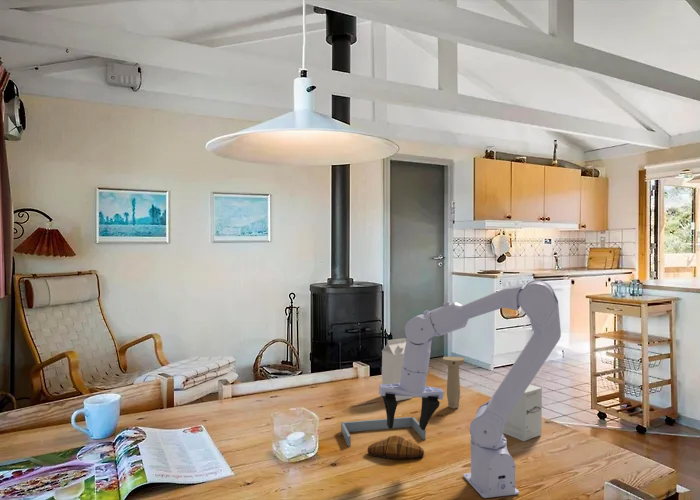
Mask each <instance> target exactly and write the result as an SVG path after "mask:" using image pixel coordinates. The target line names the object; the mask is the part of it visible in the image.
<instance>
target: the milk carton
mask: <svg viewBox="0 0 700 500" xmlns="http://www.w3.org/2000/svg"><path fill="white" fill-rule="evenodd" d="M406 340H407V337H406V338H405V337H403V338H397V339H395V338H394V339H388V340H387V343H386V345H385V346H384V347H383V348H382V350H381V353H382V354H381V380H382V381H381V384H396V383H400V377H401V371H402V364H403V357H404V350H405V346H406ZM395 397H396V401H397V402H398V401H404V400H409V399H412V398H413V397H410V396H395Z"/></svg>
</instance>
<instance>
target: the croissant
mask: <svg viewBox="0 0 700 500" xmlns="http://www.w3.org/2000/svg"><path fill="white" fill-rule="evenodd" d="M366 451H367V455H370V456H373V457H379V458H385V459H393V460H402V459H409V460H410V459H419V458H424V456H425V449H424V448H423V447H421V446H420V445H418V444H416V443H414V442H412V441H410V440H407V439H406V438H404V437H403V436H399V435H391V436H390V435H389V436H388V437H386V438H385V439H380V440H379V441H376V442H373V443H372V444H370V445H368V447H367V450H366Z"/></svg>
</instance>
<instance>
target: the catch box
mask: <svg viewBox="0 0 700 500" xmlns="http://www.w3.org/2000/svg"><path fill="white" fill-rule="evenodd" d="M419 422H420V421H418V420H417V419H416V418H415V417H414V416H405V417H394V423H393V428H392V429H398V428H399V429H400V428H411V427H412V429H413V430H414V431H415V432H416V433H417V435H418V436H419V437H420V438H421V439H422V440H423V441H424V440H426V437H427V436H426V433H427V432H426V430H427V429H425V430H422V429H421V428H420V426H419ZM340 424H341V425H340V432H341V434H342V436H343V438H344V441H345V443H346V445H347V447H351V445H352V444H351V442H352V441H351V439H352V438H351V434H350V433H351V432H353V433H354V432H364V431H376V430H388V429H389V427H388V426H387V418H380V419H370V420H369V419H367V420H357V421H354V420H353V421H341V423H340Z"/></svg>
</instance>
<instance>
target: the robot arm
mask: <svg viewBox="0 0 700 500" xmlns="http://www.w3.org/2000/svg"><path fill="white" fill-rule="evenodd" d="M442 305H443V306H440V307H437V308H434V309H432V310H429V309H426V310H424V311H423V314H417V315H416V316H414V317H412V318H411V319H409V320H408V321H407V322H406V324H405V326H404V333H405V334H404V335H405V337H406V346H405V350H404V357H403V364H402V371H401V377H400V383H396V384H382V383H379V387H378V395H380V397H382V400H383V403H384V406H385V412H386V419H387V426H388V427H389V429H391V430H392V429H394V428H393V423H394V418H395V413H396V410H397V407H398V404H399V402H398V401H396V397H395V396H410V397H412V398H421V409H420V411H421V412H420V416H419V421H418V422H419V426H420V428H421V429H422V430H427V427H428V423H429V421H430V419H431V418H432V416H433V415H434V413H435V412H436V411H437V409H438V408H439V406H440V404H441V403H440V401H439V400H441V401H442V400H444V394H445V391H444V390H443V388H441V387H435V386H428V385H427V377H428V373H429V372H428V371H429V365H430V359H431V352H432V351H431V348H432V343H433V342H432V341H433V338H434V337H441V336H444V335H446V334H449V333H452V332H455V331H458V330H461V329H464V328H466V327H467V324H468V322H469V319H470V320H471V319H473V318H476V317H479V316H481V315H485V314H488V313H491V312H495V311H497V310H501V309H508V310H513V311H519V309H520V308H521V309H522V311H523V312H524V314H525V315H526V316H527V317H528V319H529V321H530V324H531V328H532V330H533V334H532V335H531V337H530V338H529V339H528V341H527V342H526V345H525V346H524V348H523V349H522V350H521V352H520V354H519V355H518V357H517V358H516V359H515V361H514V363H513V364H512V366H511V367H510V369H509V371H508V372H507V373H506V375H505V376H504V378H503V379H502V381H501V382H500V384H499V386H498V387H497V389H496V390H495V392H494V394H492V395H491V397H490V398H489V400H488V401H486V402H485V403H482V404H480V406H478V408H477V409H476V410H477V411H476V414H475V416H474V418H473V419H472V420H471V422H470V425H469V434H470V472H466V473H463V475H462V476H463V477H464V479H465V480H466V481H467V482H468V483H469V484H470V485H471V486H472V487H473V489H474V490H475V491H476V492H477V493H478V494H479V495H480V497H482V498H484V499H489V498H496V497H506V496H514V495H519V494H520V490H519V489H517V488H516V462H515V460H514V458H513V457H512V455H511V454H510V452H509V451H508V446H507V442H508V441H507V438H506V436H505V434H504V433H502V431H503V428H504V426H505V424H506V421H507V420H508V418H509V416H510V414H511V412H512V410H513V408H514V407H515V405H516V404H517V402H518V401H519V399H520V398H521V396H522V395H523V393H524V392H525V390H526V389H527V387H528V386H529V385H531V383H532V382H533V380H534V379H535V378H536V376H537V373H538V372H539V371H540V369H541V368H542V367H543V365H544V364H545V362H546V361H547V359H548V358H549V356H550V355H551V353H552V352H553V350H554V349H555V347H556V345H557V344H558V343H559V341H560V339H561V336H562V333H561V332H562V331H561V319H560V308H559V300H558V298H557V295H556V292H555V291H554V288H553V287H552V285H550V284H549V283H547V282H546V281H544V280H539V279H538V280H537V279H536V280H532V281H529V282H527V283H526V284H525V283H519V284H515V285H511V286H508V287H505V288H504V287H503V288H502V289H500V290H497V291H494V292H492V293H490V294H488V295H485V296H483V297H482V296H481V297H479V298H478V299H475V300H473V301H469V302H467V303H466V304H462V303H460V302H457V301H452V302H451V301H450V300H448V301H445V302H443V303H442Z"/></svg>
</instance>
